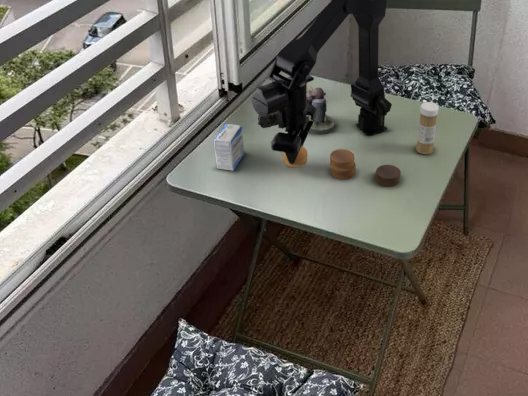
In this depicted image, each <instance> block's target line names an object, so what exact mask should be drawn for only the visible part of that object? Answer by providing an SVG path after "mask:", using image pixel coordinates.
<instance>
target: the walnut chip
mask: <svg viewBox="0 0 528 396" xmlns="http://www.w3.org/2000/svg"><path fill="white" fill-rule="evenodd" d="M401 173H402V171H401V169H400V168H399V167H398V166H396V165H393V164H382V165H380V166H378V167H377V168H376V171H375V181H376V183H377V184H378V185H380V186H382V187H386V188H391V187H395V186H398V185H399V184H400V182H401V176H402V175H401Z"/></svg>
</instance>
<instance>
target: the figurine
mask: <svg viewBox="0 0 528 396" xmlns="http://www.w3.org/2000/svg"><path fill="white" fill-rule="evenodd" d="M326 94H327V92H325V90H324V89H323V88H321V87H315V88H313V91H312V92H308V93H307V99H308V100H313V101H312V105H313V106H314V107H315V108H316V109H317V115H316V117H315V119H314V120H311V116H310V115H307V117H309V120H310V121H313V125H312V127H311V129H310V131H309V133H310V134H313V135H326V134H328V133H330V132H332V131H334V129H335V120H334V119H333V118H332V117H331V116H330V115H327V113H326V112H327V110H328V109H327V108H328V107H327V103H328V100H327V98H326V97H325V96H327V95H326Z"/></svg>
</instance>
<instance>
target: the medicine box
mask: <svg viewBox="0 0 528 396" xmlns="http://www.w3.org/2000/svg"><path fill="white" fill-rule="evenodd" d="M213 145H214V154H215V160H216V161H215V162H216V163H215V164H216V169H218V170H224V171H231V172H234V170H235V169H236V168H237V166H238V164H239V163H240V161H241V159H242V158H243V156H244V155H245V150H244V149H245V148H244V135H243V126H242V125H238V124H234V123H233V124H232V123H225V125H224V126H223V127H222V129H221V130H220V131H219V132H218V134H217V135H216V136H215V138H214V139H213Z"/></svg>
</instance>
